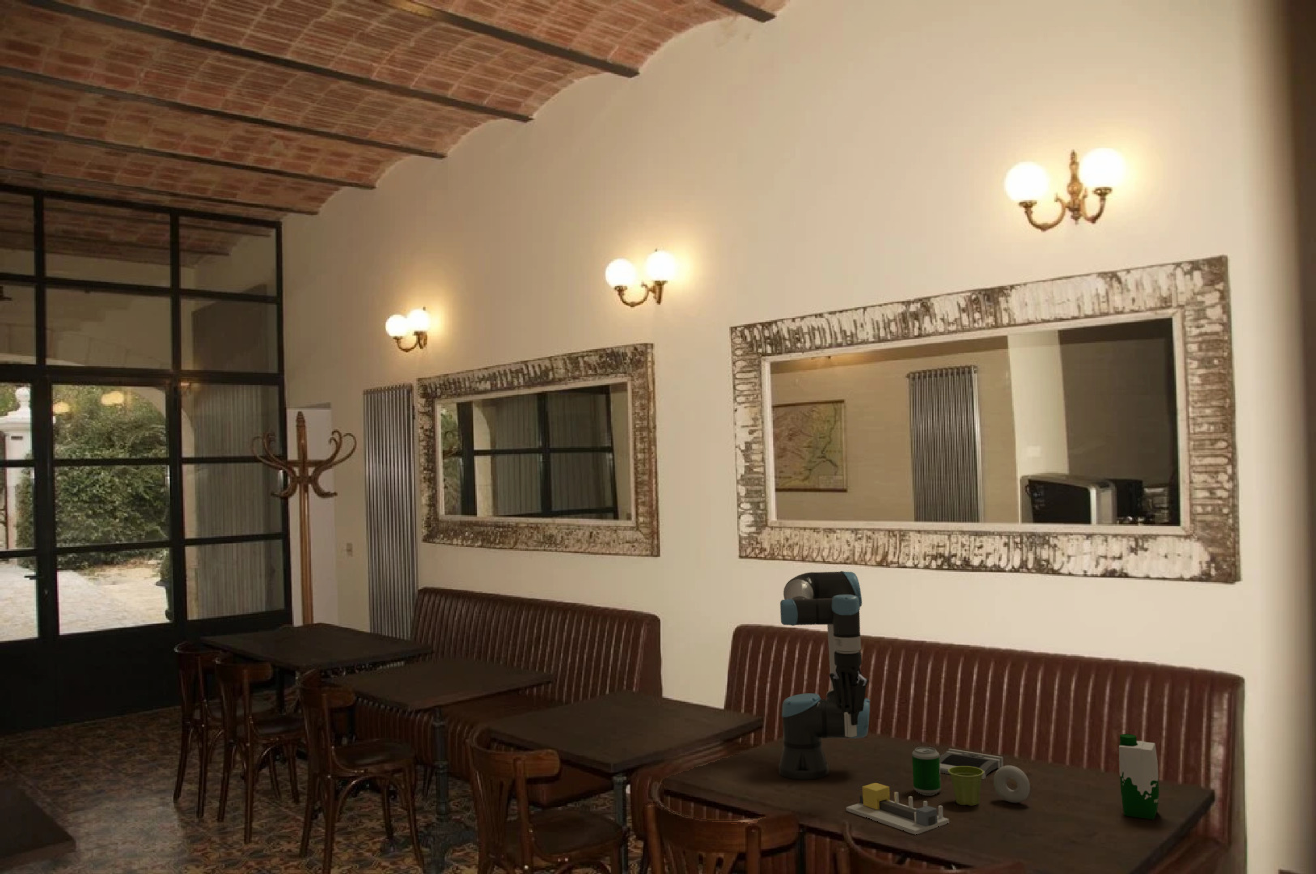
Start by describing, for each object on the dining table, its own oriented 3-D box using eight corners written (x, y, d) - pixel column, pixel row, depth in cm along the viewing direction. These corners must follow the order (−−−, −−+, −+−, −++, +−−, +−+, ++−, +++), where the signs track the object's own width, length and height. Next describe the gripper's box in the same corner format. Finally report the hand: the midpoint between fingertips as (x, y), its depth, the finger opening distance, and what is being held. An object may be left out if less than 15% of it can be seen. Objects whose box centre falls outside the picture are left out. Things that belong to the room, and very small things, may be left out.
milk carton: (1124, 806, 272) (1120, 731, 273) (1161, 811, 268) (1158, 734, 268) (1119, 816, 265) (1115, 739, 266) (1158, 821, 260) (1154, 742, 261)
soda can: (941, 796, 285) (940, 753, 286) (914, 796, 287) (912, 753, 287) (940, 788, 293) (938, 746, 293) (913, 787, 294) (911, 746, 294)
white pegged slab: (846, 811, 276) (845, 793, 276) (879, 800, 284) (878, 784, 284) (915, 835, 257) (914, 816, 257) (949, 823, 264) (948, 805, 264)
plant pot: (967, 810, 273) (965, 778, 274) (942, 801, 282) (940, 769, 282) (992, 804, 278) (991, 772, 278) (967, 795, 286) (966, 764, 286)
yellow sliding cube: (863, 805, 277) (862, 786, 277) (876, 801, 280) (875, 782, 280) (876, 809, 272) (876, 791, 273) (890, 805, 276) (889, 787, 276)
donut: (1032, 804, 276) (1031, 767, 277) (1028, 807, 274) (1026, 770, 274) (997, 797, 283) (995, 761, 283) (992, 801, 280) (990, 764, 281)
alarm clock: (1002, 757, 311) (981, 765, 299) (1003, 772, 311) (981, 782, 298) (950, 748, 322) (926, 756, 310) (950, 763, 322) (926, 772, 310)
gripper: (820, 649, 288) (824, 733, 287) (855, 655, 277) (859, 743, 276) (839, 646, 292) (843, 729, 291) (874, 652, 281) (878, 738, 280)
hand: (851, 736), depth 284 cm, fingers closed
